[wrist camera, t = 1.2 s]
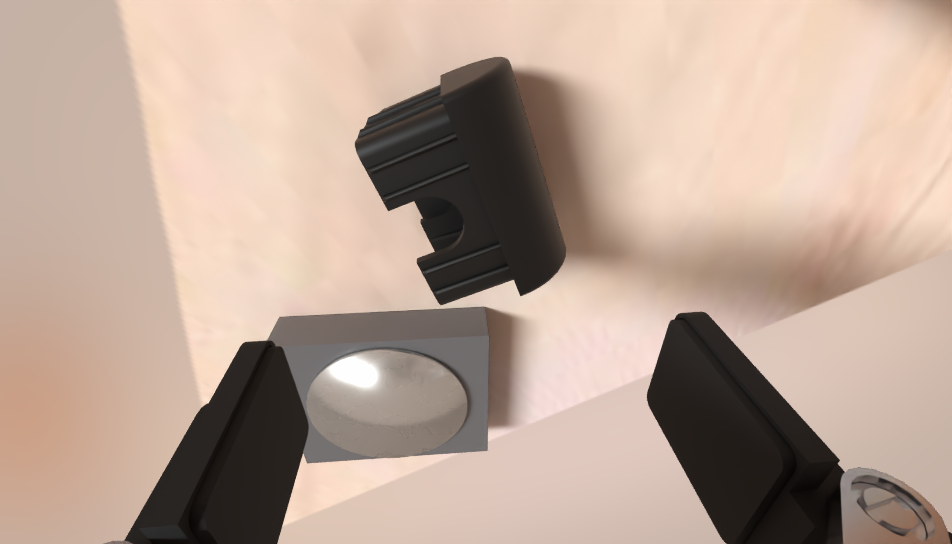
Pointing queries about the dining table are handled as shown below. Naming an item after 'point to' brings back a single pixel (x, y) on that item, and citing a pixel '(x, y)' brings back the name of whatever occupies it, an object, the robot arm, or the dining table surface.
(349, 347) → the grey domed push button
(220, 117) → the dining table surface
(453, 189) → the end cap
